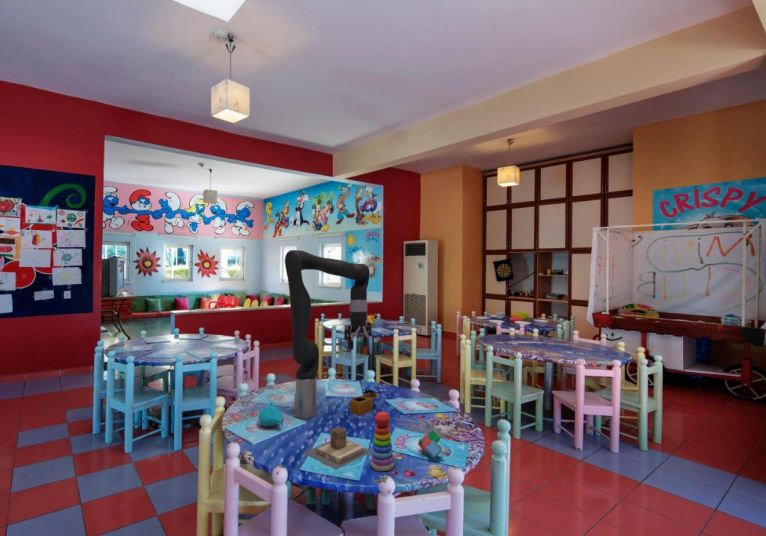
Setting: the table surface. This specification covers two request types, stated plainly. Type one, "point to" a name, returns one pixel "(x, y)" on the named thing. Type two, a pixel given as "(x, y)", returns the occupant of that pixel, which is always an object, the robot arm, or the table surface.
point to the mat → (330, 463)
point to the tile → (340, 452)
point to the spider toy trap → (363, 403)
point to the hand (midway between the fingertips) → (358, 347)
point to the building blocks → (430, 444)
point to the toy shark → (270, 416)
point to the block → (338, 438)
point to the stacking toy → (382, 444)
